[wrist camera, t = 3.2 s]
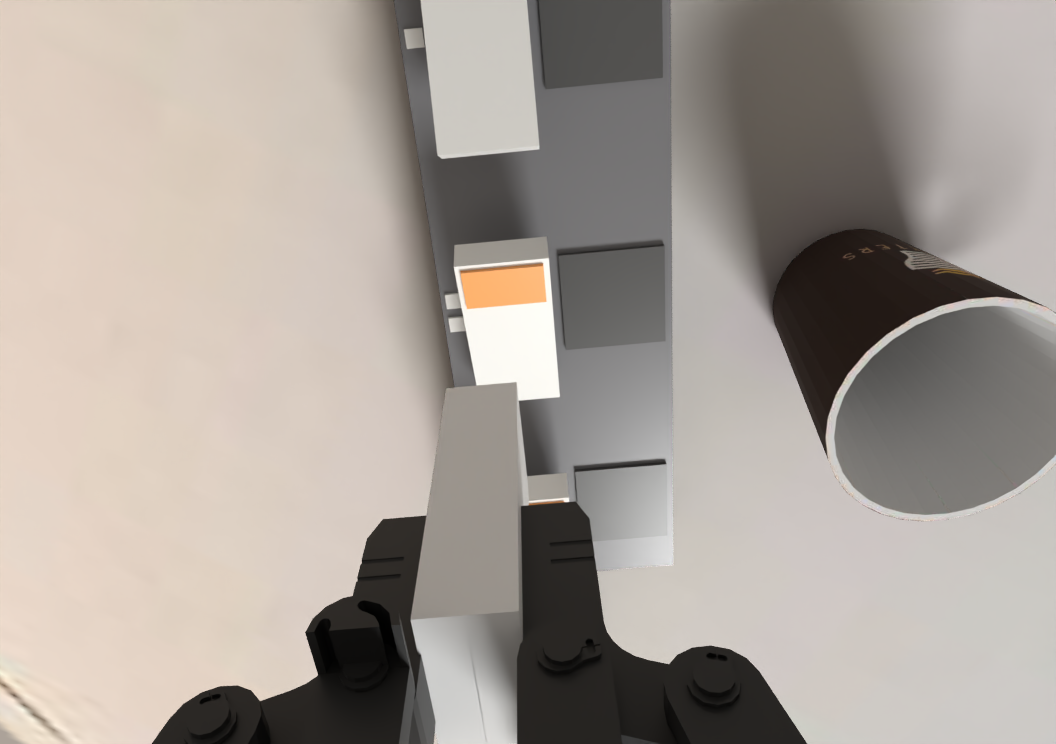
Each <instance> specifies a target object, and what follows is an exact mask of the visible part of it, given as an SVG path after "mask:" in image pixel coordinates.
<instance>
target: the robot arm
mask: <svg viewBox="0 0 1056 744" xmlns="http://www.w3.org/2000/svg"><path fill="white" fill-rule="evenodd" d="M357 578H358V582H356V585H355V589H354V593H353V596H351V597H347V598H343V599H341V600H339V601H337V602H335V603H333V604H331V605H329V606H327V607H325V608H324V609H323V610H322V611H321V612H320V613H319V614H318V615H317V616H315V617H314V618H313V620H312V621H311V623H310V625H309V627H308V629H307V631H306V632H305V633H306V636H307V640H308V643H309V646H310V649H311V653H312V656H313V659H314V662H315V666H316V669H317V672H318V676H317V677H316V678H314V679H313V680H311V681H310V682H308V683H307V684H305V685H302V686H300V687H298V688H296V689H293V690H291V691H288V692H285V693H283V694H280V695H277V696H274V697H271V698H268V699H265V700H263V701H259V699H258V698H257V697H256V696H255V695H254V693H253V692H252V691H251V690H248V689H245V688H243V687H240V686H220V687H217V688H214V689H211V690H208V691H205V692H202V693H200V694H199V695H197V696H195V697H194V698H192V699H191V700H189V701H188V702H186V703H185V704H183V705H182V706H181V707H180V708H179V709H178V710H177V712H176V713H175V714H174V715H173V716H172V717H171V718H170V719H169V720H168V722H167V723H166V725H165V726H164V727H163V729H162V730H161V732H160V733H159V734H158V736H157V737H156V739H155V740H154V741H153V743H152V744H433V743H434V733H435V734H436V739H437V743H438V744H807V743H806V741H805V740H804V738H803V737H802V735H801V734H800V732H799V731H798V729H797V728H796V726H795V725H794V723H793V722H792V720H791V719H790V717H789V716H788V714H787V713H786V711H785V710H784V708H783V707H782V705H781V704H780V702H779V701H778V699H777V698H776V696H775V695H774V693H773V692H772V690H771V688H770V687H769V685H768V684H767V682H766V681H765V679H764V678H763V676H762V675H761V673H760V672H759V671H758V670H757V669H756V668H755V666H754V665H753V664H752V663H751V662H750V661H749V660H748V659H747V658H745V657H743V656H741V655H739V654H738V653H736V652H734V651H732V650H730V649H725V648H720V647H715V646H704V647H695V648H691V649H689V650H687V651H685V652H683V653H681V654H678V655H677V656H676V657H675V658H674V659H673V661H672V662H671V663H670V664H665V663H660V662H655V661H650V660H646V659H643V658H639V657H636V656H634V655H632V654H630V653H628V652H626V651H624V650H623V649H621V648H620V647H619V646H618V645H617V644H616V643H615V642H613V640H612V639H611V637H610V636H609V634H608V633H607V631H606V628H605V624H604V621H603V613H602V606H601V599H600V591H599V584H598V577H597V570H596V562H595V555H594V548H593V541H592V533H591V526H590V519H589V517H588V516H587V515H586V514H585V512H584V511H583V510H582V509H581V507H580V506H579V505H578V504H577V502H576V501H574V502H562V503H550V504H538V505H529V496H528V480H527V471H526V462H525V453H524V444H523V435H522V426H521V417H520V408H519V399H518V390H517V382H511V383H499V384H488V385H477V386H465V387H454V388H446V392H445V399H444V405H443V412H442V418H441V425H440V431H439V438H438V444H437V451H436V457H435V464H434V470H433V477H432V483H431V490H430V496H429V503H428V509H427V516H417V517H405V518H393V519H383V520H382V521H381V522H380V524H379V525H378V526H377V527H376V529H375V530H374V531H373V532H372V534H371V535H370V536H369V537H368V538H367V541H366V545H365V549H364V553H363V557H362V564H361V565H360V569H359V573H358V577H357Z"/></svg>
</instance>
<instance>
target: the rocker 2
mask: <svg viewBox="0 0 1056 744" xmlns="http://www.w3.org/2000/svg"><path fill="white" fill-rule="evenodd" d="M454 271H455V276H456V282H457V287H458V292H459V297H460V302H461V307H462V313H463V318H464V323H465V328H466V333H467V339H468V344H469V349H470V354H471V359H472V364H473V370H474V375H475V380H476V385H488V384H499V383H511V382H517V390H518V399H519V401H520V400H532V399H543V398H555V397H560V392H559V379H558V367H557V354H556V342H555V329H554V317H553V304H552V292H551V279H550V267H549V255H548V245H547V237H536V238H525V239H515V240H504V241H493V242H482V243H472V244H461V245H454Z"/></svg>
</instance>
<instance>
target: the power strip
mask: <svg viewBox="0 0 1056 744" xmlns="http://www.w3.org/2000/svg"><path fill="white" fill-rule="evenodd" d="M394 5H395V12H396V18H397V24H398V31H399V37H400V43H401V50H402V56H403V63H404V69H405V75H406V82H407V88H408V94H409V101H410V107H411V114H412V120H413V126H414V133H415V139H416V145H417V152H418V158H419V164H420V171H421V177H422V184H423V190H424V196H425V203H426V209H427V215H428V222H429V228H430V235H431V241H432V247H433V254H434V260H435V266H436V273H437V279H438V286H439V292H440V298H441V305H442V311H443V317H444V324H445V330H446V337H447V343H448V349H449V356H450V362H451V368H452V375H453V381H454V387H465V386H477V385H476V380H475V375H474V370H473V364H472V359H471V354H470V349H469V344H468V339H467V333H466V328H465V323H464V318H463V313H462V307H461V302H460V297H459V292H458V287H457V282H456V276H455V271H454V245H461V244H472V243H482V242H493V241H504V240H515V239H525V238H536V237H547V245H548V255H549V267H550V279H551V292H552V304H553V317H554V329H555V342H556V354H557V367H558V379H559V392H560V397H555V398H543V399H532V400H520V401H519V408H520V417H521V426H522V435H523V444H524V453H525V462H526V471H527V476H536V475H548V474H560V473H567V483H568V494H569V502H574V501H576V502H577V504H578V505H579V506H580V507H581V509H582V510H583V511H584V512H585V514H586V515H587V516H588V517H589V519H590V526H591V533H592V541H593V548H594V555H595V562H596V570H597V571H605V570H617V569H630V568H642V567H655V566H667V565H673V402H672V205H671V9H670V0H527V8H528V20H529V31H530V43H531V54H532V66H533V78H534V89H535V101H536V112H537V124H538V136H539V149H538V150H528V151H518V152H507V153H497V154H487V155H476V156H466V157H456V158H445V159H442V158H440V157H439V156H437V146H436V137H435V128H434V119H433V110H432V101H431V91H430V82H429V73H428V64H427V55H426V46H425V36H424V27H423V18H422V9H421V0H394Z"/></svg>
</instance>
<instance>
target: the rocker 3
mask: <svg viewBox="0 0 1056 744" xmlns="http://www.w3.org/2000/svg"><path fill="white" fill-rule="evenodd" d="M527 480H528V496H529V505H538V504H550V503H562V502H569V494H568V483H567V473H560V474H548V475H536V476H527Z"/></svg>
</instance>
